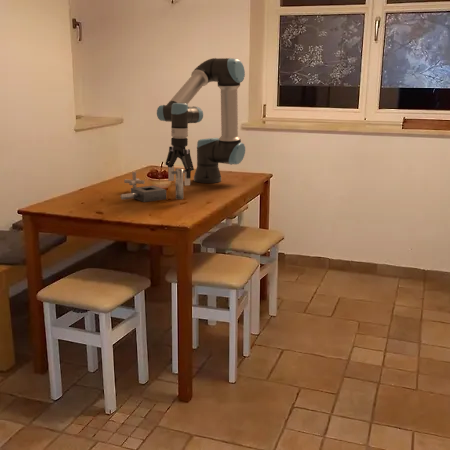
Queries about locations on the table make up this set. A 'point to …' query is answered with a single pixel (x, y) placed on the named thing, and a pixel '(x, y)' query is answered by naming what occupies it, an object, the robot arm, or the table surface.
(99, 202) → the table surface
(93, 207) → the table surface
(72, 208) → the table surface
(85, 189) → the table surface
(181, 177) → the chuck key
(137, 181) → the pipe connector
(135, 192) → the block
